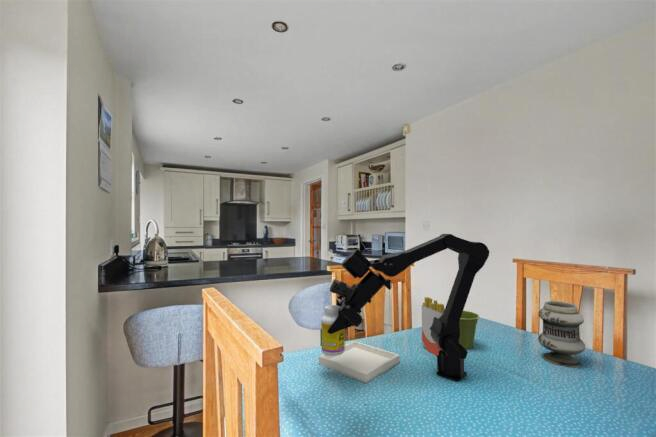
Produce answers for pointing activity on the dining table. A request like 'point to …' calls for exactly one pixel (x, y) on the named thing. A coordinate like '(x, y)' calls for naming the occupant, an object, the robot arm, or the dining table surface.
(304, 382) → the dining table surface
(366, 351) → the tray
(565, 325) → the apothecary jar
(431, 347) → the french fries container
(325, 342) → the supplement bottle
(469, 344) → the plant pot
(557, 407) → the dining table surface
